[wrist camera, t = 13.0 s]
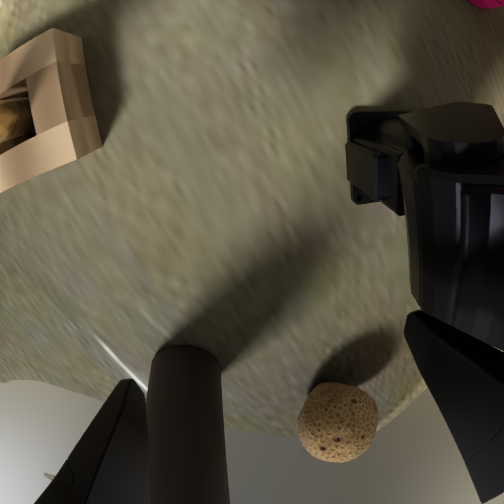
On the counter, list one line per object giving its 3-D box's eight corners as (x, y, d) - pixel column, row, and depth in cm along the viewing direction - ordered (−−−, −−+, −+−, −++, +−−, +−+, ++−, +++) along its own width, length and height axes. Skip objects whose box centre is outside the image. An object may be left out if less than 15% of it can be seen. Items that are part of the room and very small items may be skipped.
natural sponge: (375, 359, 30) (410, 430, 22) (344, 403, 34) (367, 466, 26) (302, 361, 28) (328, 447, 20) (279, 407, 32) (294, 480, 24)
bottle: (205, 392, 29) (215, 570, 12) (144, 375, 27) (128, 563, 10) (232, 356, 27) (257, 572, 10) (162, 334, 25) (145, 570, 7)
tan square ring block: (81, 37, 13) (52, 27, 9) (102, 146, 17) (77, 159, 13) (-4, 85, 13) (-38, 90, 9) (17, 180, 17) (-14, 199, 13)
